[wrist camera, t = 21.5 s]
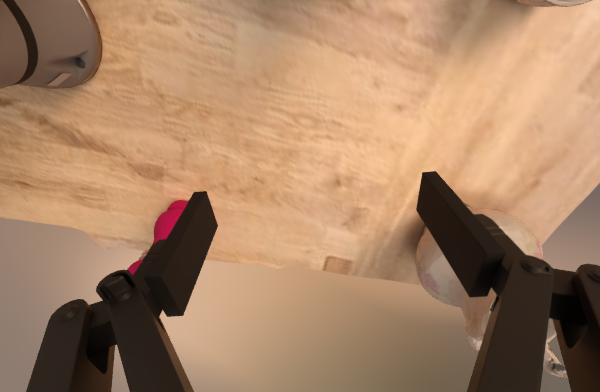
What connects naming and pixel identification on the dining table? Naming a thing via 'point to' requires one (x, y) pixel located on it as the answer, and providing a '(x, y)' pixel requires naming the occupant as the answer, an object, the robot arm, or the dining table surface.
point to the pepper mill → (163, 227)
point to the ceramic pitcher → (477, 309)
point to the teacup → (553, 2)
